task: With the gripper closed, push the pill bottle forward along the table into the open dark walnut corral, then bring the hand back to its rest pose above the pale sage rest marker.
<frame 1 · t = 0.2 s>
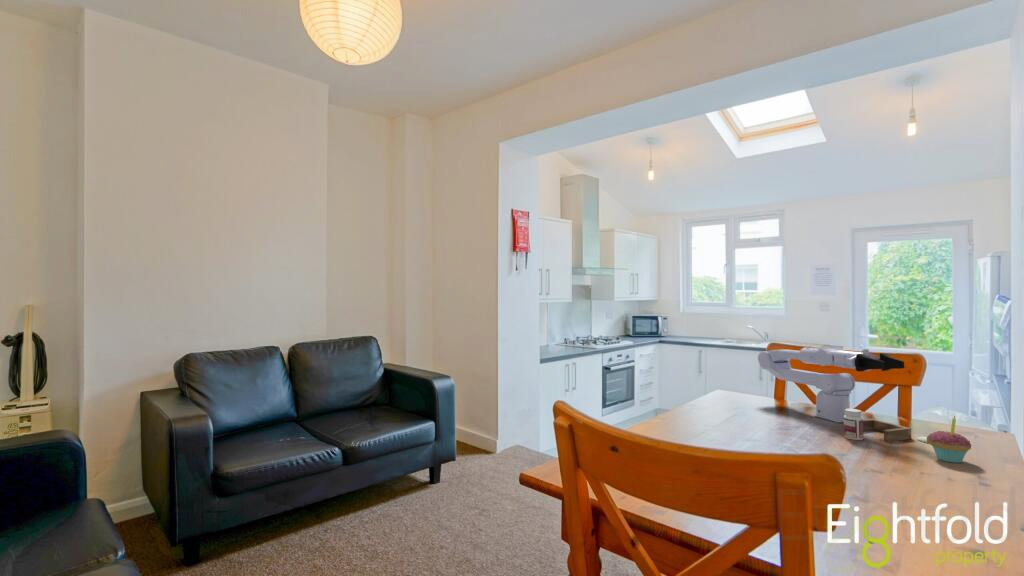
hand: (893, 365, 143), 22 cm above the table, tool horizontal, fingers open, 7 cm apart
walnut corral: (878, 434, 144), on the table
rest marker: (930, 441, 138), on the table
pill bottle: (853, 438, 141), on the table
cupcake: (948, 460, 123), on the table
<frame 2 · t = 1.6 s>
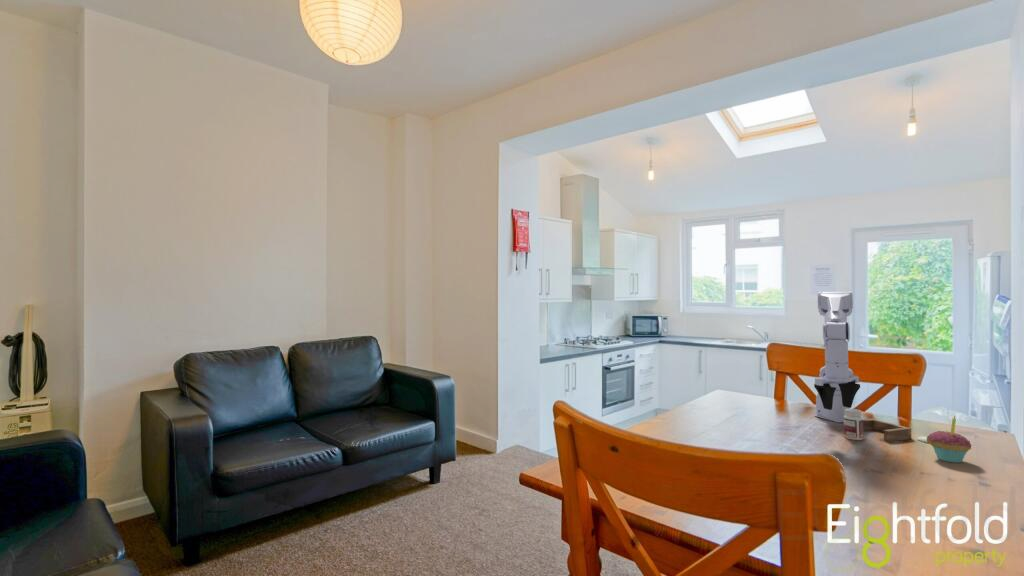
hand: (837, 408, 140), 9 cm above the table, tool pointing down, fingers open, 7 cm apart
nothing on the table moved.
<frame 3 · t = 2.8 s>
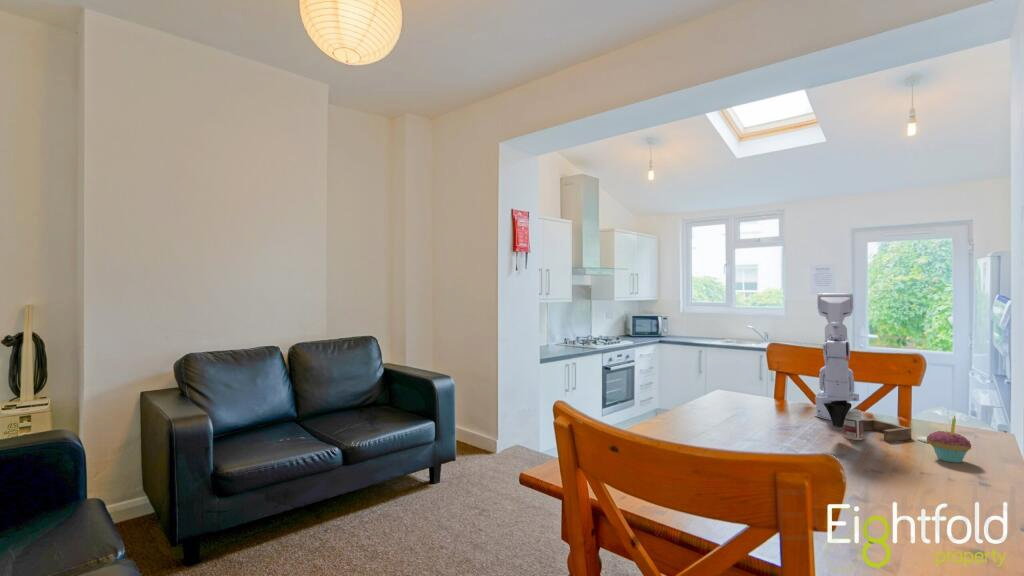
hand: (837, 426, 140), 4 cm above the table, tool pointing down, fingers closed
nothing on the table moved.
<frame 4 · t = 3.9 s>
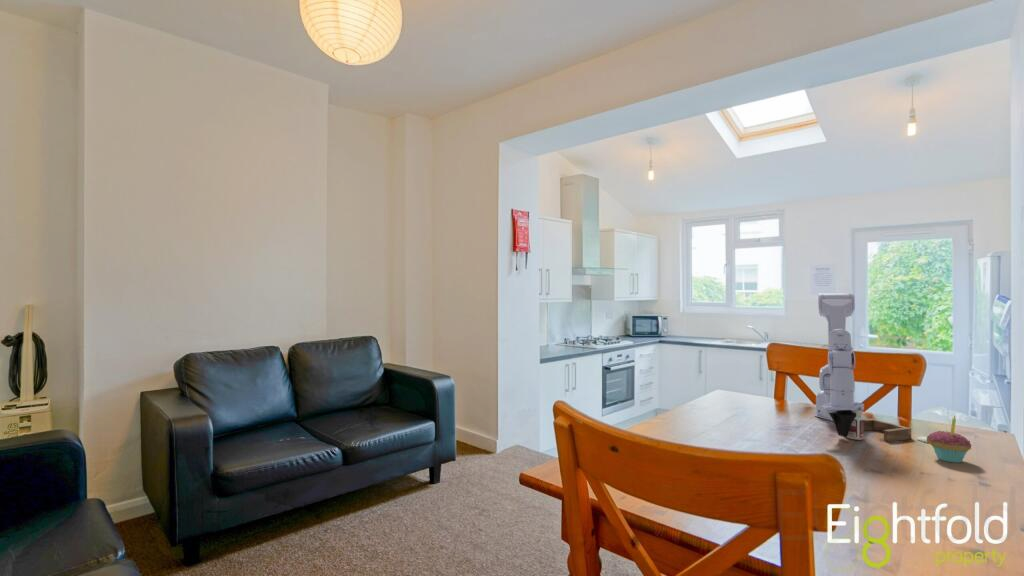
hand: (842, 435, 140), 1 cm above the table, tool pointing down, fingers closed
pill bottle: (853, 438, 141), on the table, touching gripper
everything else where it was.
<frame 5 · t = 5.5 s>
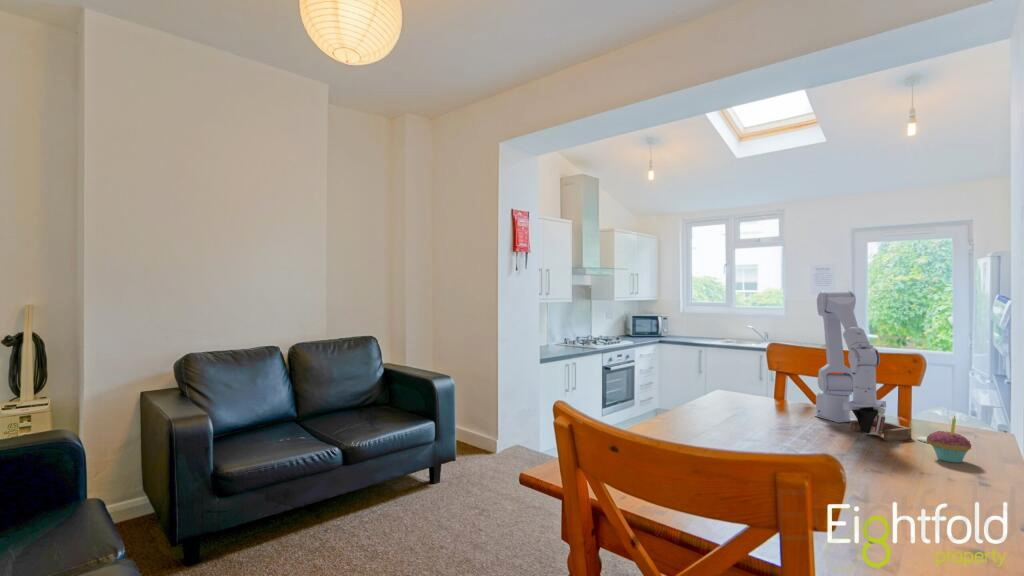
hand: (865, 432, 142), 1 cm above the table, tool pointing down, fingers closed, pressing on pill bottle
pill bottle: (871, 434, 143), on the table, touching gripper
everything else where it was.
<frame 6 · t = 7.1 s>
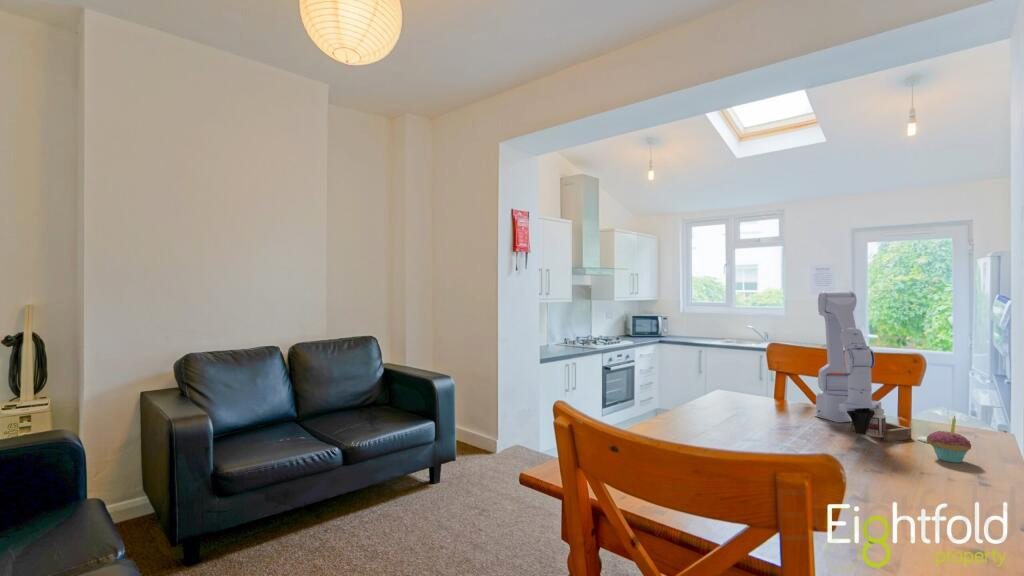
hand: (860, 433, 142), 1 cm above the table, tool pointing down, fingers closed
pill bottle: (876, 435, 144), on the table
everything else where it was.
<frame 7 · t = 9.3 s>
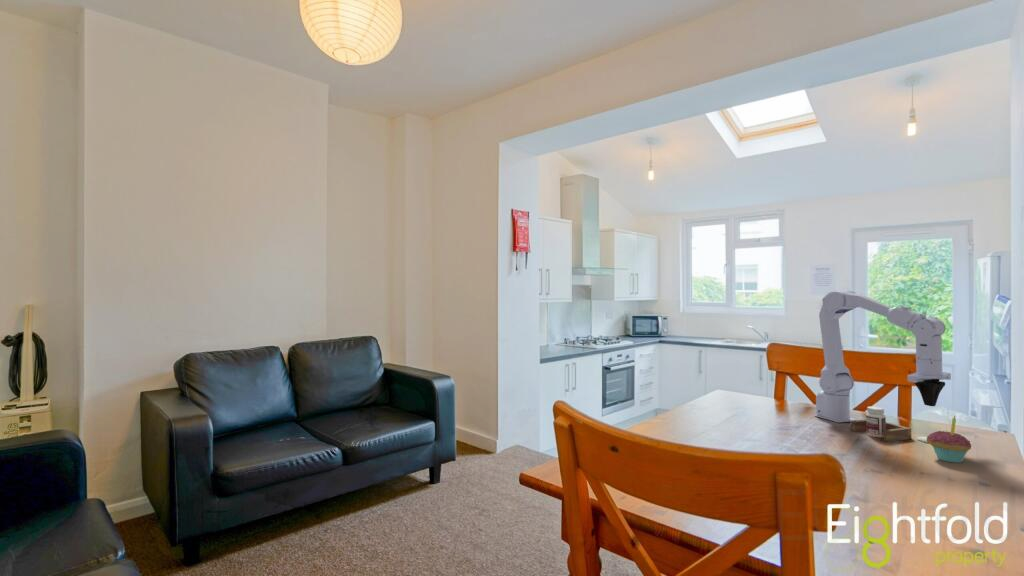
hand: (929, 405, 138), 10 cm above the table, tool pointing down, fingers closed
nothing on the table moved.
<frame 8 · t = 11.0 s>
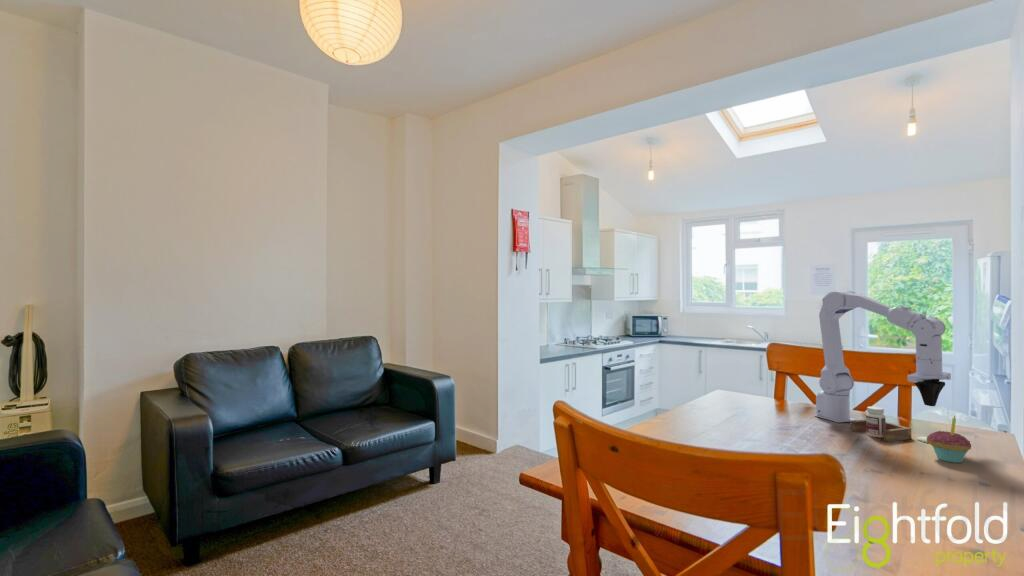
hand: (929, 405, 138), 10 cm above the table, tool pointing down, fingers closed
nothing on the table moved.
at the end: pill bottle inside the target area (1.3 cm from its centre), on the table; pill bottle tilted 0°; pill bottle moved 8.7 cm from its start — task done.
